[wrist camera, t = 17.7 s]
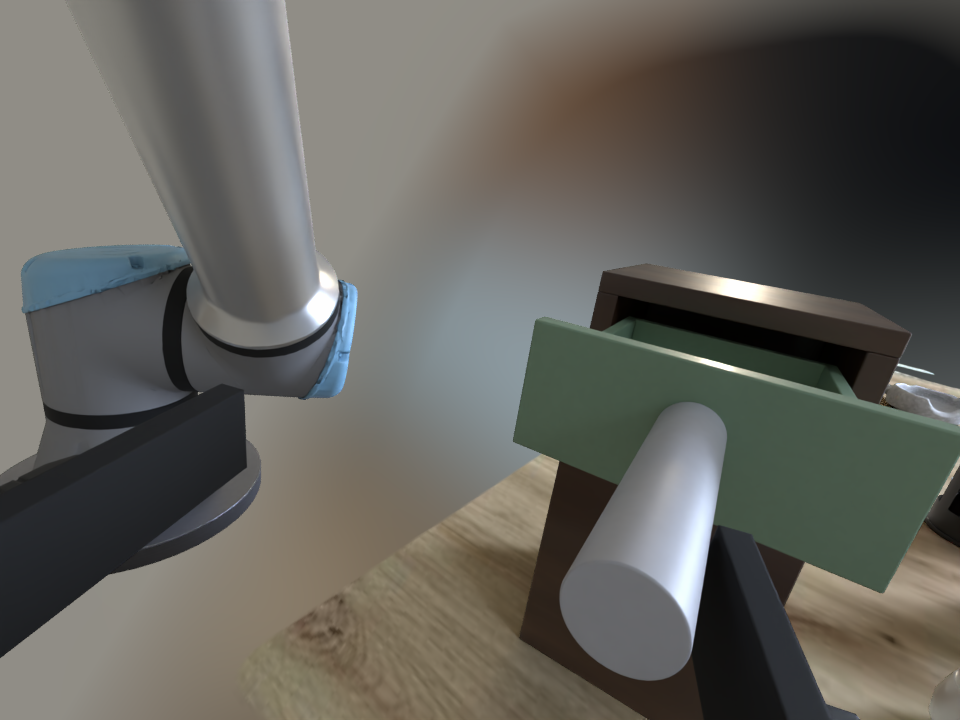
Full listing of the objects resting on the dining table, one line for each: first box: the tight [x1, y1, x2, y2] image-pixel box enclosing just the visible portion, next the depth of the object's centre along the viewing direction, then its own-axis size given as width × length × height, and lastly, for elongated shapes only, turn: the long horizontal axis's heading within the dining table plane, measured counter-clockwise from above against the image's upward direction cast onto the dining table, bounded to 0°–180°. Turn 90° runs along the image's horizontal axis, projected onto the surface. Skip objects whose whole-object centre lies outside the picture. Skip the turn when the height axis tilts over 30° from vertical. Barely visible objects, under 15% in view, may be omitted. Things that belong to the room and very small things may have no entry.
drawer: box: [513, 316, 960, 681], centre depth 18 cm, size 22×14×6 cm, turn 149°
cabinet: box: [519, 264, 912, 720], centre depth 33 cm, size 12×14×29 cm
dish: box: [885, 383, 960, 425], centre depth 105 cm, size 14×14×5 cm
